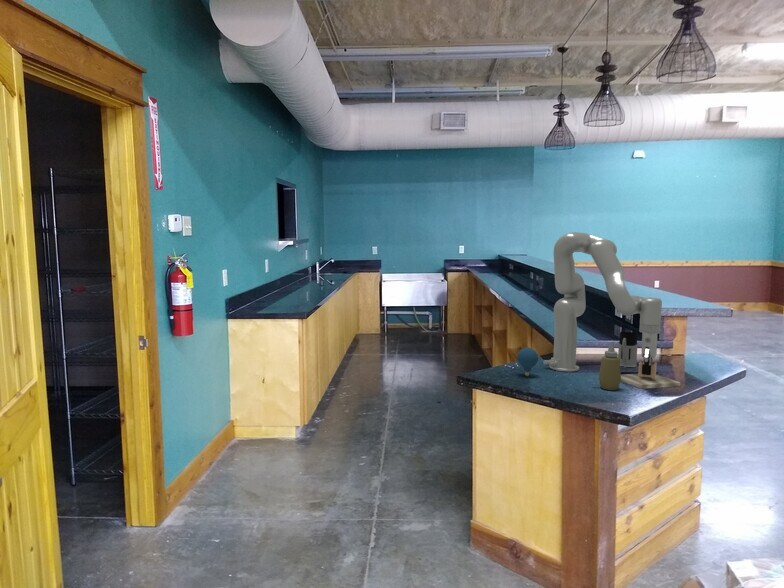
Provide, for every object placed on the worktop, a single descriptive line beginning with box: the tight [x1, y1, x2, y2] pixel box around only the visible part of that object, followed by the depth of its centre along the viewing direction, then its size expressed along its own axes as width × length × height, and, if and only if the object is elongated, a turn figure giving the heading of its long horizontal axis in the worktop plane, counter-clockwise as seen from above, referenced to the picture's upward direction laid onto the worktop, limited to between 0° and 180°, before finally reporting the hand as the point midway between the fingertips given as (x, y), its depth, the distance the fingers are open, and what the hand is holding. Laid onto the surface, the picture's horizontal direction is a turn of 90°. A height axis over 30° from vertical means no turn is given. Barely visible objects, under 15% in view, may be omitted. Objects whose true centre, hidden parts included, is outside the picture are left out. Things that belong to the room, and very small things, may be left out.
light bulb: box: [517, 347, 539, 377], centre depth 228 cm, size 8×8×12 cm
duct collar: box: [637, 360, 658, 378], centre depth 220 cm, size 6×6×5 cm
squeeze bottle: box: [598, 341, 622, 391], centre depth 210 cm, size 8×8×18 cm
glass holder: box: [617, 331, 638, 368], centre depth 248 cm, size 9×14×15 cm, turn 144°
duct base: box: [621, 359, 682, 390], centre depth 220 cm, size 18×16×10 cm
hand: (647, 372), depth 220 cm, fingers closed on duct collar, 5 cm apart
